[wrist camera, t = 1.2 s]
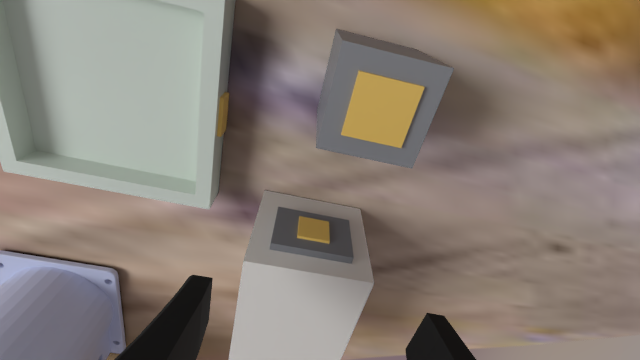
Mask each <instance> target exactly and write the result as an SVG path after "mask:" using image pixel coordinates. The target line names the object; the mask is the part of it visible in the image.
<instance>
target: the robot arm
mask: <svg viewBox="0 0 640 360" xmlns="http://www.w3.org/2000/svg"><path fill="white" fill-rule="evenodd" d="M211 289H212V278H209V277H203V276H197V275H192V276H190V277H189V278H188V279H187V280H186V282H185V283H184V284H183V286H182V287H181V288H180V289H179V291H178V292H177V293H176V294H175V296H174V297H173V298H172V299H171V300H170V302H169V303H168V304H167V305H166V306H165V307H164V308H163V310H162V311H161V312H160V313H159V314H158V315H157V316H156V317H155V318H154V320H153V321H152V322H151V323H150V324H149V325H148V326H147V327H146V328H145V329H144V330H143V331H142V333H141V334H140V335H139V336H138V337H137V338H136V339H135V340H134V341H133V342H132V343H131V344H130V345H129V346H128V347H127V348H126V342H125V333H124V324H123V315H122V306H121V296H120V287H119V278H118V273H117V271H116V270H114V269H112V268H108V267H102V266H95V265H89V264H83V263H77V262H70V261H64V260H58V259H52V258H46V257H39V256H33V255H27V254H21V253H15V252H8V251H2V250H0V360H106V359H107V357H108V356H109V354H110V352H111V353H119V354H120V353H121V354H120V355H119V356H118V357H117V358H116V359H115V360H196V358H197V355H198V353H199V350H200V346H201V343H202V340H203V337H204V334H205V330H206V327H207V324H208V320H209V311H210V300H211ZM406 357H407V360H476V359H475V357H474V356H473V355H472V353H471V352H470V351H469V349H468V348H467V347H466V345H465V344H464V342H463V341H462V340H461V338H460V337H459V335H458V334H457V333H456V331H455V330H454V329H453V327H452V326H451V325H450V323H449V322H448V321H447V319H446V318H445V317H444V316H442V315H436V314H430V313H427V314H426V316H425V317H424V319H423V321H422V322H421V324H420V326H419V327H418V329H417V331H416V333H415V334H414V336H413V338H412V339H411V341H410V343H409V344H408V346H407V348H406Z"/></svg>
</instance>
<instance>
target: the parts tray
mask: <svg viewBox="0 0 640 360" xmlns="http://www.w3.org/2000/svg"><path fill="white" fill-rule="evenodd" d="M234 10H235V0H0V161H1V165H2V168H3V171H5V172H10V173H15V174H21V175H26V176H32V177H37V178H42V179H48V180H53V181H59V182H64V183H69V184H75V185H80V186H86V187H91V188H96V189H102V190H107V191H112V192H118V193H123V194H129V195H134V196H139V197H145V198H150V199H156V200H161V201H166V202H172V203H177V204H182V205H188V206H193V207H199V208H204V209H210V207H211V206H212V204H213V202H214V200H215V198H216V196H217V194H218V192H219V181H220V169H221V158H222V147H223V135H224V132H225V131H226V125H227V114H228V103H229V93H227V90H228V78H229V67H230V56H231V44H232V33H233V22H234Z"/></svg>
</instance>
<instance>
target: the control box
mask: <svg viewBox="0 0 640 360" xmlns="http://www.w3.org/2000/svg"><path fill="white" fill-rule="evenodd" d="M373 285H374V279H373V274H372V268H371V263H370V258H369V252H368V247H367V240H366V237H365V231H364V226H363V221H362V215H361V210H360V209H358V208H353V207H348V206H343V205H338V204H333V203H328V202H322V201H317V200H312V199H307V198H302V197H297V196H292V195H287V194H282V193H276V192H271V191H266V190H265V191H264V194H263V197H262V201H261V204H260V207H259V211H258V214H257V217H256V221H255V224H254V227H253V231H252V234H251V238H250V241H249V244H248V248H247V251H246V254H245V258H244V261H243V268H242V274H241V281H240V287H239V294H238V301H237V307H236V314H235V320H234V327H233V333H232V340H231V347H230V353H229V360H341V358H342V355H343V353H344V351H345V349H346V346H347V344H348V342H349V339H350V337H351V335H352V333H353V330H354V328H355V326H356V324H357V321H358V319H359V317H360V315H361V312H362V310H363V308H364V305H365V303H366V301H367V299H368V296H369V294H370V292H371V290H372V287H373Z"/></svg>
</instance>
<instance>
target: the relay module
mask: <svg viewBox="0 0 640 360" xmlns="http://www.w3.org/2000/svg"><path fill="white" fill-rule="evenodd" d="M453 70H454V68H452V67H450V66H448V65H446V64H444V63H442V62H440V61H438V60H436V59H434V58H432V57H430V56H428V55H426V54H424V53H422V52H420V51H419V50H417V49H413V48H409V47H405V46H401V45H397V44H393V43H389V42H385V41H382V40H378V39H374V38H370V37H366V36H362V35H358V34H354V33H350V32H347V31H343V30H339V29H336V31H335V35H334V40H333V44H332V48H331V53H330V57H329V61H328V66H327V70H326V74H325V79H324V83H323V87H322V91H321V96H320V100H319V104H318V109H317V133H316V148H318V149H323V150H328V151H332V152H337V153H342V154H346V155H351V156H356V157H360V158H365V159H370V160H375V161H379V162H384V163H389V164H393V165H398V166H403V167H407V168H413V165H414V163H415V160H416V158H417V156H418V153H419V151H420V149H421V146H422V144H423V141H424V139H425V137H426V134H427V132H428V129H429V127H430V125H431V122H432V120H433V117H434V115H435V113H436V110H437V108H438V106H439V103H440V101H441V98H442V96H443V94H444V91H445V89H446V86H447V84H448V82H449V79H450V77H451V75H452V72H453Z"/></svg>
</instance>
